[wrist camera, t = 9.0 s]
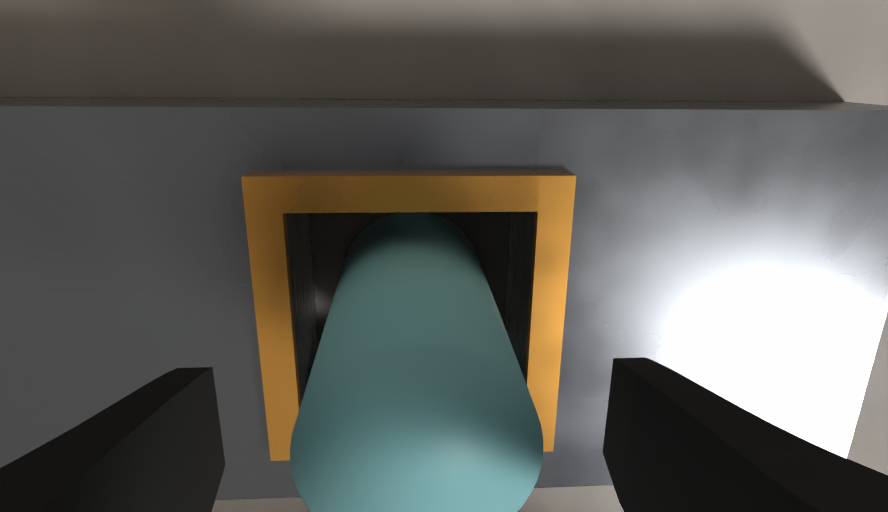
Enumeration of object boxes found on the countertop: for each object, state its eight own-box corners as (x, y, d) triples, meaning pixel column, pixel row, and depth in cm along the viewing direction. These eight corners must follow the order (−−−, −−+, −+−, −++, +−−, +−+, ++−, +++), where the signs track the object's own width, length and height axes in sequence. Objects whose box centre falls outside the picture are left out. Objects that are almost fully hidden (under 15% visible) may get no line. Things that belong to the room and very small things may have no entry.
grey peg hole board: (846, 101, 16) (955, 111, 13) (776, 414, 19) (849, 483, 16) (-75, 96, 14) (-209, 106, 11) (17, 437, 17) (-67, 519, 14)
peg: (483, 210, 16) (551, 341, 9) (478, 338, 17) (535, 551, 10) (339, 211, 16) (279, 346, 8) (346, 341, 17) (298, 561, 10)
